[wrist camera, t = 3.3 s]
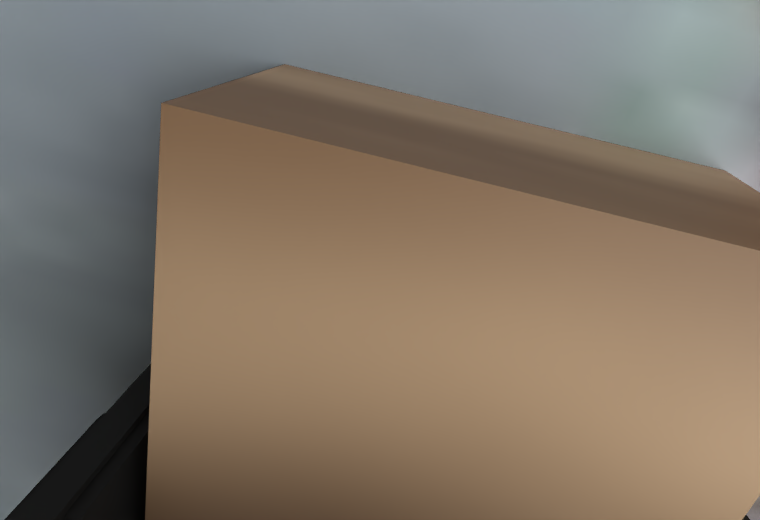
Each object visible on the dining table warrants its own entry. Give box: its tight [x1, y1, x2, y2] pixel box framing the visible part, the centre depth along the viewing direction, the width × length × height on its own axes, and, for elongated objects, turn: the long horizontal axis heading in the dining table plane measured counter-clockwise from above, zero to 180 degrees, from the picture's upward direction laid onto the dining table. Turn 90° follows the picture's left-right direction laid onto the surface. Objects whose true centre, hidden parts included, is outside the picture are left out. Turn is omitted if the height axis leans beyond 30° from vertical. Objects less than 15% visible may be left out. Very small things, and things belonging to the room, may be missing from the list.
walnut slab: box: [145, 64, 760, 520], centre depth 10 cm, size 12×7×4 cm, turn 168°
